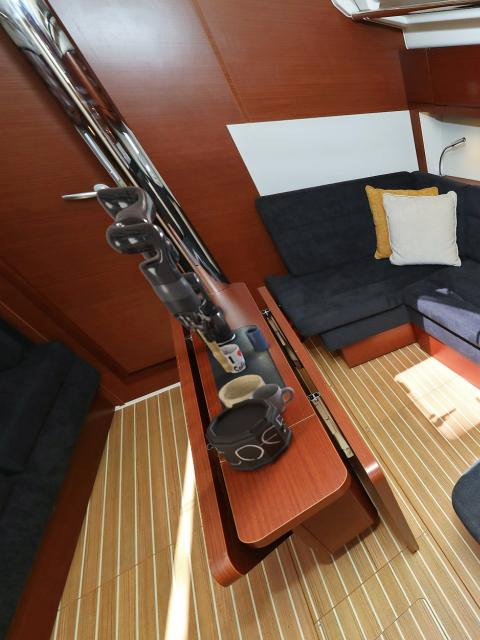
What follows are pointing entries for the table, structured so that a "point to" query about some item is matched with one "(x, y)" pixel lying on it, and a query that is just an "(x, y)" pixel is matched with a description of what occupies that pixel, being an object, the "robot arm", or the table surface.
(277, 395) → the mug
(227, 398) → the bowl
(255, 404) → the dark octagonal canister
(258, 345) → the crock
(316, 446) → the table surface
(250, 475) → the table surface
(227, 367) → the stick
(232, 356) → the cup
